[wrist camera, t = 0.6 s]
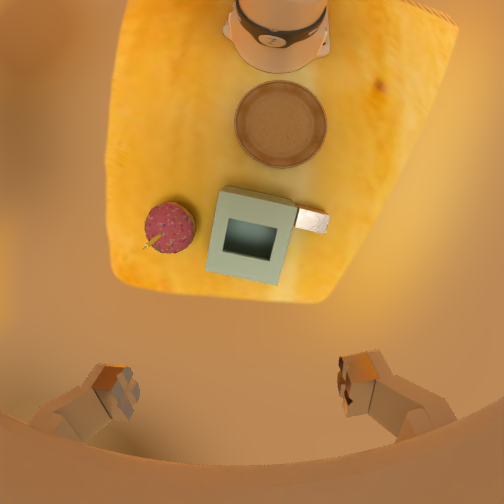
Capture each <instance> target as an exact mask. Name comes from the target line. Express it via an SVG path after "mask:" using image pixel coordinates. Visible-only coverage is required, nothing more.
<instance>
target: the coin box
mask: <svg viewBox="0 0 504 504" xmlns="http://www.w3.org/2000/svg"><path fill="white" fill-rule="evenodd" d="M297 209H298V208H297V206H296V205H295V204H294V203H293V201H292V200H291V199H287V198H282V197H278V196H274V195H269V194H265V193H260V192H256V191H251V190H246V189H242V188H237V187H232V186H225V187H224V188H223V189H221V190H220V191H219V196H218V201H217V206H216V212H215V217H214V222H213V228H212V233H211V239H210V244H209V250H208V256H207V262H206V267H205V271H210V272H214V273H219V274H223V275H228V276H233V277H237V278H242V279H247V280H252V281H257V282H261V283H266V284H271V285H276V286H277V285H278V281H279V277H280V274H281V270H282V266H283V263H284V259H285V255H286V251H287V248H288V244H289V240H290V236H291V232H292V228H293V224H294V221H295V217H296V213H297Z"/></svg>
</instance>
